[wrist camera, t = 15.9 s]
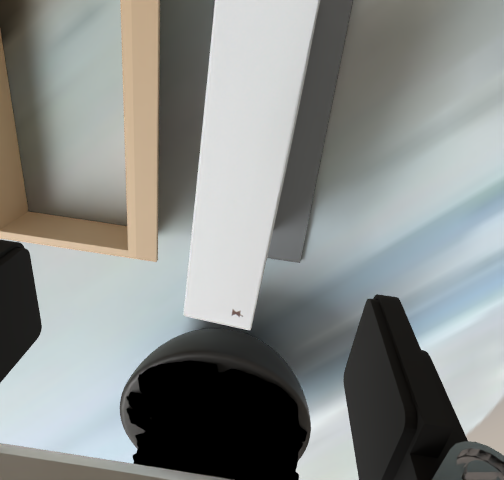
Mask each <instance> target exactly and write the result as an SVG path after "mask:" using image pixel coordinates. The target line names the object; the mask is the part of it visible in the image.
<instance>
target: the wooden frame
mask: <svg viewBox="0 0 504 480" xmlns="http://www.w3.org/2000/svg"><path fill="white" fill-rule="evenodd" d="M121 33H122V66H123V99H124V132H125V165H126V198H127V226H123V225H116V224H110V223H103V222H96V221H89V220H83V219H76V218H69V217H63V216H56V215H49V214H42V213H36V212H29V211H28V205H27V198H26V192H25V186H24V179H23V173H22V166H21V160H20V153H19V147H18V140H17V134H16V127H15V121H14V114H13V108H12V101H11V95H10V88H9V82H8V76H7V69H6V63H5V56H4V50H3V43H2V37H1V30H0V238H1V239H8V240H15V241H21V242H28V243H34V244H41V245H48V246H54V247H61V248H67V249H74V250H81V251H87V252H94V253H101V254H107V255H114V256H120V257H127V258H134V259H140V260H147V261H154V262H157V260H158V173H159V65H160V0H121Z"/></svg>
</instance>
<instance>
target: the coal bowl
mask: <svg viewBox="0 0 504 480" xmlns="http://www.w3.org/2000/svg"><path fill="white" fill-rule="evenodd" d="M120 416H121V421H122V424H123V427H124V429H125V431H126V434H127V435H128V437H129V438H130V440H131V441H132V443H133V444H134V445H135V446H136V448H137V449H138V450H137V453H136V454H134V455H133V460H134V464H138V465H144V466H151V467H157V468H163V469H170V470H176V471H182V472H188V473H194V474H200V475H207V476H213V477H219V478H225V479H231V480H298V479H299V474H298V473H296V467H297V462H298V460H299V459H300V458H301V456H302V455H303V453H304V451H305V450H306V447H307V445H308V442H309V438H310V432H311V422H310V416H309V410H308V406H307V402H306V399H305V396H304V393H303V390H302V388H301V386H300V384H299V382H298V380H297V378H296V376H295V374H294V373H293V371H292V370H291V368H290V367H289V366H288V364H287V363H286V362H285V361H284V360H283V359H282V357H281V356H280V355H279V354H278V353H277V352H276V351H274V350H273V349H272V348H271V347H269V346H268V345H267V344H265V343H264V342H262V341H260V340H259V339H257V338H255V337H253V336H251V335H248V334H246V333H242V332H239V331H235V330H230V329H222V328H209V329H201V330H195V331H191V332H188V333H185V334H182V335H180V336H177V337H175V338H173V339H171V340H169V341H168V342H166V343H165V344H163V345H161V346H160V347H158V348H157V349H156V350H155V351H153V352H152V353H151V354H150V355H149V356H148V357H147V358H146V359H145V360H144V361H143V362H142V363H141V364H140V365H139V366H138V368H137V369H136V370H135V371H134V373H133V374H132V375H131V377H130V379H129V380H128V382H127V384H126V385H125V387H124V390H123V392H122V396H121V401H120Z"/></svg>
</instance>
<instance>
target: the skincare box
mask: <svg viewBox="0 0 504 480" xmlns="http://www.w3.org/2000/svg"><path fill="white" fill-rule="evenodd" d="M319 4H320V0H215V7H214V17H213V27H212V37H211V47H210V57H209V67H208V78H207V88H206V97H205V107H204V117H203V127H202V136H201V146H200V156H199V166H198V176H197V186H196V195H195V205H194V215H193V225H192V234H191V244H190V254H189V264H188V273H187V283H186V293H185V303H184V312H183V315H184V316H186V317H190V318H194V319H199V320H204V321H209V322H213V323H218V324H222V325H227V326H231V327H236V328H241V329H245V330H251V328H252V323H253V318H254V314H255V309H256V304H257V300H258V295H259V290H260V286H261V282H262V277H263V273H264V268H265V264H266V260H267V255H268V251H269V246H270V242H271V237H272V233H273V228H274V224H275V219H276V215H277V210H278V205H279V201H280V196H281V192H282V187H283V182H284V178H285V173H286V168H287V163H288V158H289V154H290V149H291V144H292V139H293V134H294V130H295V125H296V120H297V115H298V110H299V105H300V100H301V95H302V90H303V85H304V80H305V76H306V71H307V65H308V60H309V54H310V49H311V44H312V39H313V34H314V29H315V24H316V19H317V14H318V9H319Z"/></svg>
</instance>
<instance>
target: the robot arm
mask: <svg viewBox="0 0 504 480" xmlns="http://www.w3.org/2000/svg"><path fill="white" fill-rule="evenodd" d="M41 328H42V325H41V319H40V313H39V307H38V301H37V295H36V289H35V283H34V277H33V271H32V265H31V259H30V253H29V251H28V250H27V249H25V248H24V246H23V245H22V244H21V243H19V242H12V241H5V240H0V382H1V381H2V380H3V379H4V378H5V377H6V375H7V374H8V373H9V372H10V371H11V369H12V368H13V367H14V366H15V365H16V363H17V362H18V361H19V360H20V359H21V357H22V356H23V355H24V354H25V353H26V352H27V350H28V349H29V348H30V347H31V346H32V344H33V343H34V342H35V341H36V340H37V338H38V337H39V335H40V332H41ZM344 388H345V394H346V401H347V407H348V413H349V419H350V426H351V432H352V438H353V444H354V451H355V457H356V463H357V469H358V476H359V480H504V456H503V455H502V454H501V453H499V452H497V451H495V450H494V449H492V448H490V447H488V446H486V445H483V444H480V443H477V442H469V441H468V440H467V438H466V436H465V434H464V431H463V429H462V427H461V425H460V422H459V420H458V418H457V416H456V413H455V411H454V409H453V407H452V405H451V402H450V400H449V398H448V396H447V393H446V391H445V389H444V387H443V384H442V382H441V380H440V378H439V375H438V373H437V371H436V369H435V366H434V364H433V362H432V360H431V357H430V356H429V354H428V353H427V352H426V351H423V350H421V349H420V346H419V344H418V342H417V339H416V337H415V335H414V332H413V330H412V328H411V325H410V323H409V321H408V318H407V316H406V314H405V311H404V309H403V306H402V304H401V302H400V300H399V298H397V297H391V296H384V295H375V297H374V299H368V300H367V301H366V304H365V307H364V310H363V313H362V317H361V320H360V323H359V326H358V329H357V333H356V336H355V339H354V342H353V346H352V349H351V352H350V355H349V359H348V362H347V365H346V368H345V372H344ZM0 480H231V479H225V478H219V477H213V476H207V475H200V474H194V473H188V472H182V471H176V470H170V469H163V468H157V467H151V466H144V465H138V464H131V463H125V462H119V461H112V460H106V459H100V458H93V457H87V456H80V455H74V454H67V453H61V452H54V451H48V450H41V449H35V448H29V447H22V446H15V445H9V444H2V443H0Z"/></svg>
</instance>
